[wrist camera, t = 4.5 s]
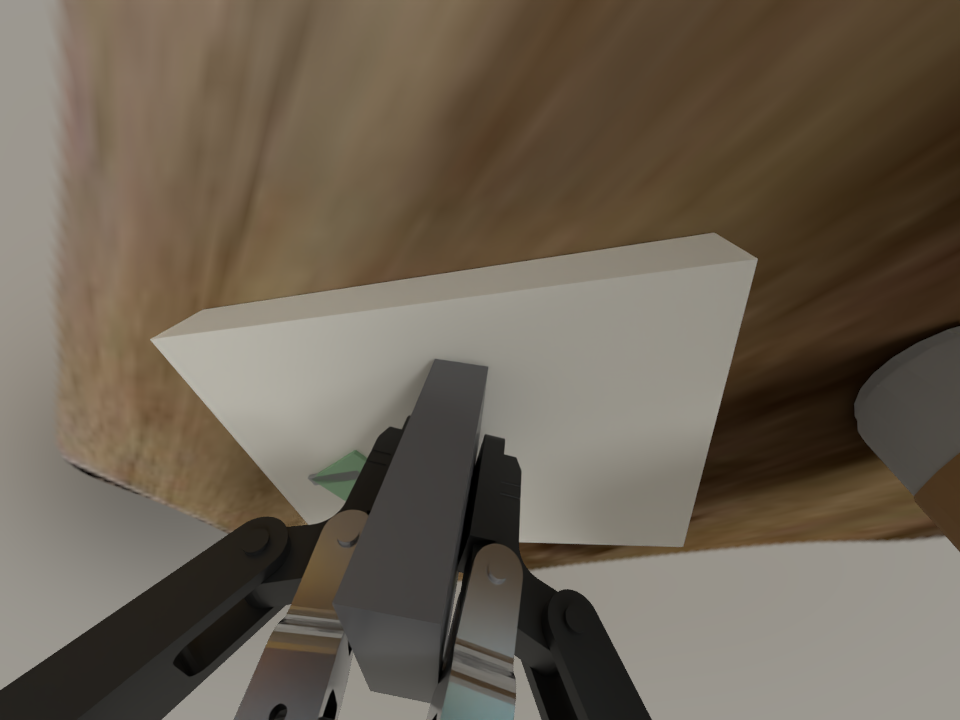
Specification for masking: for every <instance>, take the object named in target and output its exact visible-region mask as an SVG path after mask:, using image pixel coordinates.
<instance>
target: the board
mask: <svg viewBox="0 0 960 720" xmlns="http://www.w3.org/2000/svg"><path fill="white" fill-rule="evenodd" d="M757 261H758V259H757V258H756V257H754V256H752V255H751V254H749V253H747V252H746V251H744V250H742V249H741V248H739V247H737V246H736V245H734V244H732V243H731V242H729V241H728V240H726V239H724V238H723V237H721V236H719V235H718V234H716V233H708V234H702V235H695V236H688V237H682V238H675V239H668V240H662V241H655V242H649V243H642V244H635V245H629V246H622V247H615V248H609V249H602V250H596V251H589V252H582V253H576V254H569V255H562V256H556V257H549V258H542V259H536V260H529V261H523V262H516V263H509V264H503V265H496V266H489V267H483V268H476V269H470V270H463V271H456V272H450V273H443V274H436V275H430V276H423V277H416V278H410V279H403V280H397V281H390V282H383V283H377V284H370V285H363V286H357V287H350V288H344V289H337V290H330V291H324V292H317V293H310V294H304V295H297V296H290V297H284V298H277V299H271V300H264V301H257V302H251V303H244V304H237V305H231V306H224V307H218V308H211V309H204V310H201V311H200V312H198V313H196V314H194V315H192V316H191V317H189V318H187V319H185V320H184V321H182V322H180V323H178V324H176V325H175V326H173V327H171V328H169V329H168V330H166V331H164V332H162V333H160V334H159V335H157V336H155V337H153V338H152V339H150V340H151V341H152V342H153V344H154V345H155V346H156V347H157V348H158V349H159V351H160V352H161V353H162V354H163V355H164V356H165V358H166V359H167V360H168V361H169V362H170V363H171V365H172V366H173V367H174V368H175V369H176V370H177V372H178V373H179V374H180V375H181V376H182V377H183V379H184V380H185V381H186V382H187V383H188V384H189V386H190V387H191V388H192V389H193V390H194V391H195V393H196V394H197V395H198V396H199V397H200V398H201V400H202V401H203V402H204V403H205V404H206V405H207V407H208V408H209V409H210V410H211V411H212V412H213V414H214V415H215V416H216V417H217V418H218V420H219V421H220V422H221V423H222V424H223V425H224V427H225V428H226V429H227V430H228V431H229V432H230V434H231V435H232V436H233V437H234V438H235V439H236V441H237V442H238V443H239V444H240V445H241V446H242V448H243V449H244V450H245V451H246V452H247V453H248V455H249V456H250V457H251V458H252V459H253V460H254V462H255V463H256V464H257V465H258V466H259V467H260V469H261V470H262V471H263V472H264V473H265V474H266V476H267V477H268V478H269V479H270V480H271V481H272V483H273V484H274V485H275V486H276V487H277V488H278V490H279V491H280V492H281V493H282V494H283V496H284V497H285V498H286V499H287V500H288V501H289V503H290V504H291V505H292V506H293V507H294V508H295V510H296V511H297V512H298V513H299V514H300V515H301V517H302V518H303V519H304V520H305V521H306V522H307V524H308V525H312V524H317V523H320V522H323V521H325V520H328V519H329V518H331V517H332V516H334V515H335V514H336V513H337V512H338V511H339V510H340V509H341V508H342V507H343V505H344V504H345V502H346V500H347V498H348V496H349V494H350V492H351V490H352V488H353V486H354V484H355V482H356V480H357V478H358V476H359V474H360V472H361V470H362V468H363V466H364V464H365V463H366V460H367V458H368V456H369V454H370V452H371V451H372V448H373V446H374V444H375V442H376V440H377V438H378V436H379V435H380V434H382V433H383V432H384V431H385V430H386V429H387V428H388V427H394V428H398V429H402V428H403V425H404V423H405V421H406V419H407V417H408V415H410V416H411V414H412V412H413V409H414V407H415V404H416V402H417V400H418V397H419V395H420V393H421V390H422V388H423V385H424V383H425V381H426V378H427V376H428V374H429V371H430V369H431V366H432V364H433V362H434V359H440V360H447V361H454V362H461V363H468V364H474V365H481V366H488V375H487V383H486V391H485V399H484V407H483V414H482V422H481V430H480V438H479V446H478V454H479V451H480V448H481V445H482V442H483V438H484V435H485V434H488V435H492V436H496V437H500V438H504V439H505V449H504V454H505V455H509V456H513V457H516V458H517V460H518V463H519V466H520V468H521V471H522V475H521V498H520V500H521V501H520V527H519V542H531V543H565V544H599V545H633V546H667V547H683V545H684V541H685V538H686V534H687V530H688V526H689V522H690V518H691V515H692V511H693V507H694V503H695V499H696V495H697V491H698V488H699V484H700V480H701V476H702V472H703V468H704V465H705V461H706V457H707V453H708V449H709V445H710V441H711V438H712V434H713V430H714V426H715V422H716V418H717V415H718V411H719V407H720V403H721V399H722V395H723V391H724V388H725V384H726V380H727V376H728V372H729V368H730V365H731V361H732V357H733V353H734V349H735V345H736V341H737V338H738V334H739V330H740V326H741V322H742V318H743V315H744V311H745V307H746V303H747V299H748V295H749V291H750V288H751V284H752V280H753V276H754V272H755V268H756V265H757ZM478 454H477V457H478Z"/></svg>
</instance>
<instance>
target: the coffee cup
mask: <svg viewBox="0 0 960 720" xmlns="http://www.w3.org/2000/svg"><path fill="white" fill-rule="evenodd" d="M854 410H855V418H856V419H857V426H858V432H859V434H860V435H861V437H862V438H863V440H864V441H865V443H866V444H867V445H868V446H869V447H870V448H871V449H872V450H873V451H874V453H875V454H876V455H877V456H878V457H879V458H880V459H881V460H882V461H883V462H884V464H885V465H886V466H887V467H888V468H889V469H890V470H891V471H892V472H893V473H894V475H895V476H896V477H897V478H898V479H899V480H900V481H901V482H902V483H903V485H904V486H905V487H906V488H907V489H908V490H909V491H910V492H911V493H912V494H913V496H914V499H915V502H916V503H917V504H918V506H919V507H920V508H921V509H922V510H923V511H924V512H925V513H926V515H927V516H928V517H929V518H930V519H931V520H932V521H933V522H934V523H935V525H936V526H937V527H938V528H939V529H940V530H941V531H942V532H943V534H944V535H945V536H946V537H947V538H948V539H949V540H950V541H951V542H952V544H953V545H954V546H955V547H956V548H957V549H958V550H959V551H960V326H958V327H955V328H951V329H948V330H946V331H943V332H941V333H939V334H936V335H934V336H932V337H929V338H927V339H925V340H922V341H920V342H918V343H916V344H914V345H913V346H911V347H909V348H907V349H906V350H904V351H902V352H901V353H899V354H897V355H896V356H894V357H892V358H891V359H890V360H889V361H887V362H886V363H885V364H884V365H883V366H881V367H880V368H879V369H878V370H877V371H875V372H874V373H873V374H872V375H871V376H870V378H869V379H868V380H867V381H866V383H865V384H864V385H863V386H862V388H861V389H860V391H859V393H858V396H857V398H856V401H855V403H854Z"/></svg>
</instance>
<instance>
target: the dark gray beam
mask: <svg viewBox="0 0 960 720" xmlns="http://www.w3.org/2000/svg"><path fill="white" fill-rule="evenodd" d="M487 375H488V366H481V365H474V364H468V363H461V362H454V361H447V360H440V359H434V362H433V364H432V366H431V369H430V371H429V374H428V376H427V378H426V381H425V383H424V385H423V388H422V390H421V393H420V395H419V397H418V400H417V402H416V404H415V407H414V409H413V412H412V414H411V416H410V419H409V421H408V424H407V426H406V428H405V431H404V433H403V435H402V438H401V440H400V443H399V445H398V447H397V450H396V452H395V454H394V457H393V459H392V462H391V464H390V466H389V469H388V471H387V474H386V476H385V478H384V481H383V483H382V485H381V488H380V490H379V493H378V495H377V497H376V500H375V502H374V504H373V507H372V509H371V512H370V514H369V516H368V519H367V521H366V524H365V526H364V528H363V531H362V533H361V535H360V538H359V540H358V543H357V545H356V547H355V550H354V552H353V554H352V557H351V559H350V562H349V564H348V566H347V569H346V571H345V574H344V576H343V578H342V581H341V583H340V585H339V588H338V590H337V593H336V595H335V597H334V600H333V602H332V605H333V607H334V609H335V612H336V614H337V616H338V618H339V621H340V623H341V625H342V627H343V630H344V631H345V634H346V637H347V639H348V641H349V643H350V646H351V648H352V650H353V652H354V655H355V657H356V659H357V661H358V664H359V666H360V668H361V671H362V673H363V675H364V677H365V680H366V682H367V684H368V686H369V689H370V690H371V691H374V692H378V693H383V694H389V695H393V696H398V697H403V698H408V699H413V700H418V701H422V702H427V703H431V700H432V696H433V693H434V690H435V689H436V687H437V685H438V681H439V676H440V671H441V665H442V661H443V657H444V653H445V648H446V644H447V640H448V634H449V628H450V622H451V616H452V610H453V604H454V598H455V592H456V586H457V580H458V574H459V572H458V563H459V557H460V552H461V546H462V540H463V534H464V528H465V522H466V517H467V511H468V505H469V499H470V493H471V487H472V482H473V476H474V470H475V465H476V461H477V454H478V446H479V438H480V430H481V422H482V414H483V407H484V399H485V391H486V383H487Z"/></svg>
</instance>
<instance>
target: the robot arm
mask: <svg viewBox="0 0 960 720" xmlns="http://www.w3.org/2000/svg"><path fill="white" fill-rule="evenodd" d="M409 419H410V415H408V417H407V419H406V421H405V423H404V425H403V428H402V429H398V428H394V427H388V428H387V429H386V430H385V431H384V432H383V433H382V434H380V435H379V436H378V438H377V440H376V442H375V444H374V446H373V448H372V451H371V452H370V454H369V456H368V458H367V460H366V463H365V464H364V466H363V468H362V470H361V472H360V474H359V476H358V478H357V480H356V482H355V484H354V486H353V488H352V490H351V492H350V494H349V496H348V498H347V500H346V502H345V504H344V505H343V507H342V508H341V509H340V510H339V511H338V512H337V513H336V514H335V515H334V516H332V517H331V518H329V519H328V520H325V521H323V522H320V523H317V524H312V525H302V526H292V527H286V526H285V524H284V523H283V522H282V521H281V520H279V519H277V518H274V517H260V518H256V519H253V520H251V521H248V522H247V523H245V524H243V525H242V526H240V527H239V528H237V529H236V530H234V531H233V532H231V533H230V534H228V535H227V536H226V537H224V538H223V539H221V540H220V541H218V542H217V543H216V544H214V545H212V546H211V547H209V548H208V549H207V550H205V551H204V552H202V553H201V554H199V555H198V556H196V557H195V558H193V559H192V560H190V561H189V562H187V563H186V564H185V565H183V566H182V567H180V568H179V569H177V570H176V571H174V572H173V573H171V574H170V575H168V576H167V577H166V578H164V579H163V580H161V581H160V582H158V583H157V584H155V585H154V586H152V587H151V588H149V589H148V590H147V591H145V592H144V593H142V594H141V595H139V596H138V597H136V598H135V599H133V600H132V601H130V602H129V603H128V604H126V605H125V606H123V607H122V608H120V609H119V610H117V611H116V612H114V613H113V614H111V615H110V616H108V617H107V618H105V619H104V620H103V621H101V622H100V623H98V624H97V625H95V626H94V627H92V628H91V629H89V630H88V631H87V632H85V633H84V634H82V635H81V636H79V637H78V638H76V639H75V640H73V641H72V642H70V643H69V644H67V645H66V646H64V647H63V648H62V649H60V650H59V651H57V652H56V653H54V654H53V655H52V656H50V657H48V658H47V659H45V660H44V661H43V662H41V663H40V664H38V665H37V666H35V667H34V668H32V669H31V670H30V671H28V672H26V673H25V674H23V675H22V676H21V677H19V678H18V679H16V680H15V681H13V682H12V683H10V684H9V685H7V686H6V687H4V688H3V689H2V690H0V720H162V718H164V717H165V716H166V715H167V714H168V713H169V712H170V711H171V710H172V709H173V708H175V707H176V706H177V705H178V704H179V703H180V702H181V701H182V700H183V699H184V698H185V697H186V696H188V695H189V694H190V693H191V692H192V691H193V690H194V689H195V688H196V687H197V686H198V685H200V684H201V683H202V682H203V681H204V680H205V679H206V678H207V677H208V676H209V675H210V674H212V673H213V672H214V671H215V670H216V669H217V668H218V667H219V666H220V665H221V664H222V663H223V662H225V661H226V660H227V659H228V658H229V657H230V656H231V655H232V654H233V653H234V652H235V651H237V650H238V649H239V648H240V647H241V646H242V645H243V644H244V643H245V642H246V641H247V640H248V639H250V638H251V637H252V636H253V635H254V634H255V633H256V632H257V631H258V630H259V629H260V628H261V627H263V626H264V625H265V624H266V623H267V622H268V621H269V620H270V619H271V618H272V617H274V616H275V615H276V614H277V613H278V612H279V611H280V610H281V609H282V608H283V607H284V606H285V605H289V604H291V606H290V609H289V610H288V612H287V614H286V616H285V617H284V619H283V620H281V621H280V622H279V623H278V624H277V626H276V627H275V629H274V630H273V632H272V634H271V636H270V638H269V640H268V642H267V644H266V646H265V648H264V651H263V653H262V655H261V658H260V660H259V662H258V665H257V667H256V670H255V672H254V674H253V676H252V679H251V681H250V683H249V686H248V688H247V690H246V692H245V695H244V697H243V700H242V702H241V704H240V706H239V708H238V711H237V713H236V715H235V718H234V720H338V716H339V712H340V708H341V704H342V700H343V697H344V693H345V689H346V685H347V680H348V676H349V671H350V666H351V660H352V656H353V650H352V648H351V646H350V643H349V641H348V639H347V637H346V634H345V631H344V630H343V627H342V625H341V623H340V621H339V618H338V616H337V614H336V612H335V609H334V607H333V605H332V602H333V600H334V597H335V595H336V593H337V590H338V588H339V585H340V583H341V581H342V578H343V576H344V574H345V571H346V569H347V566H348V564H349V562H350V559H351V557H352V554H353V552H354V550H355V547H356V545H357V543H358V540H359V538H360V535H361V533H362V531H363V528H364V526H365V524H366V521H367V519H368V516H369V514H370V512H371V509H372V507H373V504H374V502H375V500H376V497H377V495H378V493H379V490H380V488H381V485H382V483H383V481H384V478H385V476H386V474H387V471H388V469H389V466H390V464H391V462H392V459H393V457H394V454H395V452H396V450H397V447H398V445H399V443H400V440H401V438H402V435H403V433H404V431H405V428H406V426H407V424H408V421H409ZM504 449H505V439H504V438H500V437H496V436H492V435H488V434H485V435H484V438H483V442H482V445H481V448H480V451H479V454H478V457H477V461H476V465H475V470H474V476H473V482H472V487H471V493H470V499H469V505H468V511H467V517H466V522H465V528H464V534H463V540H462V546H461V552H460V557H459V563H458V572H462V573H464V574H463V580H462V587H461V592H460V594H459V597H458V600H457V604H456V608H455V612H454V616H453V620H452V624H451V628H450V632H449V636H448V640H447V644H446V648H445V653H444V657H443V661H442V665H441V671H440V676H439V681H438V685H437V687H436V689H435V690H434V693H433V696H432V700H431V704H430V708H429V711H428V716H427V719H426V720H514V712H515V701H516V680H515V676H514V673H513V661H514V655H515V656H517V657H518V658H519V659H521V661H522V664H523V667H524V670H525V673H526V676H527V679H528V682H529V684H530V687H531V690H532V693H533V696H534V699H535V702H536V705H537V707H538V710H539V713H540V716H541V719H542V720H652V719H651V717H650V716H649V713H648V712H647V710H646V708H645V706H644V704H643V702H642V700H641V698H640V696H639V694H638V692H637V690H636V688H635V686H634V684H633V682H632V681H631V679H630V677H629V675H628V673H627V671H626V669H625V667H624V665H623V663H622V661H621V659H620V657H619V656H618V653H617V651H616V649H615V648H614V646H613V644H612V642H611V640H610V638H609V636H608V634H607V632H606V630H605V628H604V626H603V624H602V622H601V621H600V619H599V616H598V615H597V613H596V611H595V609H594V607H593V606H592V604H591V603H590V602H589V601H588V600H587V599H586V598H585V597H584V596H583V595H582V594H580V593H578V592H576V591H573V590H568V589H567V590H561V591H559V592H557V591H556V590H554V589H553V588H551V587H550V586H548V585H546V584H545V583H543V582H542V581H540V580H539V579H537V578H536V577H535V576H534V575H532V574H531V573H530V571H529V570H528V569H527V568H526V566H525V564H524V563H523V561H522V558H521V555H520V551H519V527H520V501H521V500H520V498H521V475H522V471H521V468H520V466H519V463H518V460H517V458H516V457H513V456H509V455H505V454H504Z"/></svg>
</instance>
